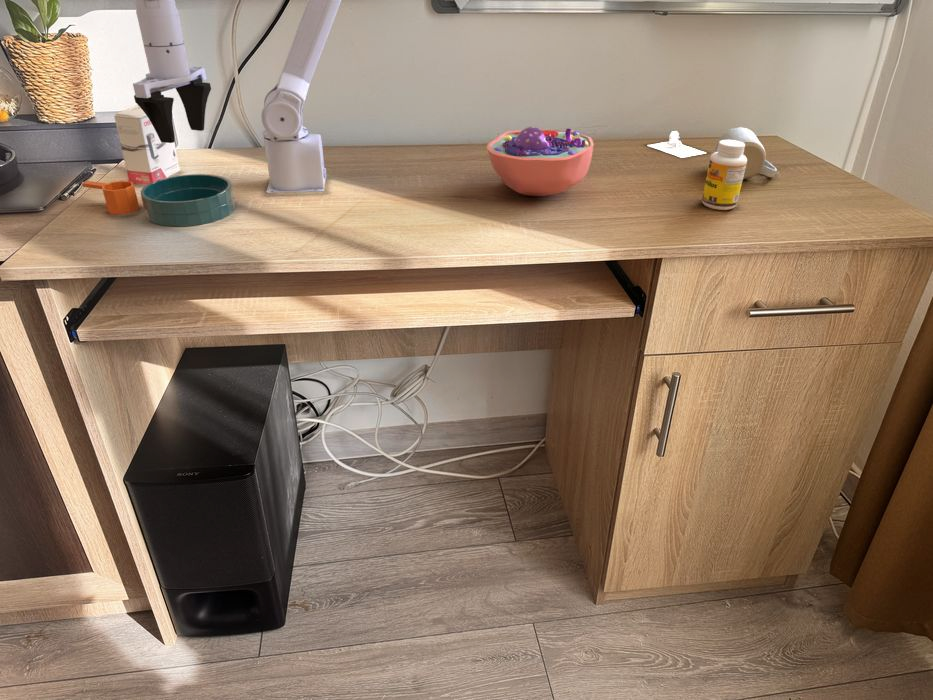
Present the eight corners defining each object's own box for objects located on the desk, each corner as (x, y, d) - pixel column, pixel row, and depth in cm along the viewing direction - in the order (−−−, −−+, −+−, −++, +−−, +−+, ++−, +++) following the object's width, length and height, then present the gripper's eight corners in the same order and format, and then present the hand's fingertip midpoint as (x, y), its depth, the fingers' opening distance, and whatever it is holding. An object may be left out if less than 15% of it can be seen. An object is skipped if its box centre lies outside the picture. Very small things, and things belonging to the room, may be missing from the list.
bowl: (241, 197, 112) (236, 173, 110) (228, 227, 101) (223, 200, 99) (158, 200, 111) (152, 175, 109) (137, 231, 100) (130, 204, 98)
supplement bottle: (695, 199, 114) (708, 138, 109) (728, 199, 115) (741, 137, 109) (708, 211, 110) (721, 148, 104) (741, 211, 110) (756, 147, 105)
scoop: (146, 208, 108) (139, 182, 105) (126, 218, 104) (119, 191, 102) (102, 202, 110) (95, 177, 108) (81, 211, 106) (73, 185, 104)
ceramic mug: (721, 180, 123) (731, 137, 119) (710, 166, 130) (719, 125, 125) (781, 183, 122) (793, 140, 118) (766, 169, 129) (778, 128, 125)
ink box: (155, 187, 116) (138, 116, 110) (128, 185, 117) (110, 114, 110) (183, 172, 123) (168, 104, 117) (157, 170, 124) (142, 102, 118)
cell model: (612, 188, 119) (621, 122, 113) (542, 218, 106) (547, 145, 100) (536, 167, 128) (540, 105, 122) (463, 192, 116) (464, 124, 110)
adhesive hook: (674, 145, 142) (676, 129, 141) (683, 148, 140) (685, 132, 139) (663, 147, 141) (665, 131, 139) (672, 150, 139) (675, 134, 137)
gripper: (172, 36, 109) (189, 122, 116) (107, 49, 97) (130, 145, 104) (210, 38, 107) (225, 126, 114) (148, 52, 95) (170, 149, 103)
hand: (183, 135), depth 109 cm, fingers open, 7 cm apart
